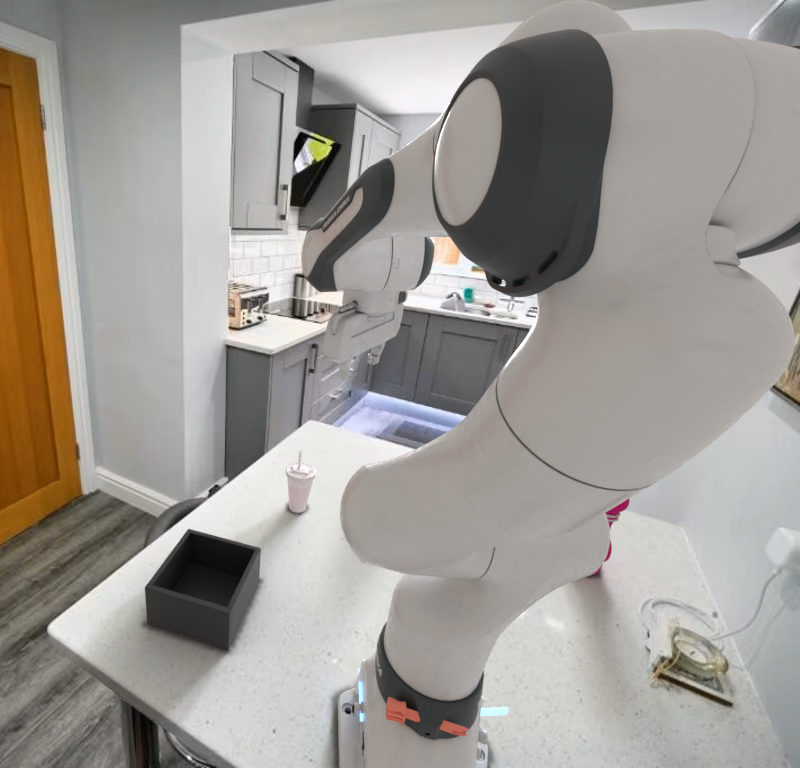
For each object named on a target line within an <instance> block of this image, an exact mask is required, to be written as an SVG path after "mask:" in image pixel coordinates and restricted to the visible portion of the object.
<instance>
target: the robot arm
mask: <svg viewBox="0 0 800 768" xmlns="http://www.w3.org/2000/svg"><path fill="white" fill-rule="evenodd" d="M433 238H450V240H451V241H452V242H453V244H454V245H455V246H456V248H457V250H458V251H459V252H460V253H461V255H463V257H465V258H466V259H467V260H468V261H470V262H471V263H472V264H475V266H478V267H479V268H481V269H482V270H483V271H484V275H485V278H486V282H487V284H488V285H489V287H491V288H492V289H493V290H495V291H497V292H498V293H501V294H502V295H505V296H508V297H511V298H528V297H532V296H534V295H536V297H537V309H536V316H535V319H534V322H533V324H532V326H531V327H530V329H529V331H528V332H527V334H526V336H525V337H524V339H523V340H522V342H521V343H520V345H519V346H518V347H517V348H516V350H515V351H514V352H513V353H512V355H511V356H510V357H509V358H508V360H507V361H506V363H505V364H504V366H503V367H502V369H501V370H500V371H499V373H498V374H497V376H496V377H495V379H494V380H493V381H492V382H491V384H490V385H489V386H488V388H487V390H486V391H485V392H484V393H483V395H482V396H481V397H480V399H479V400H478V401H477V402H476V404H475V405H474V406H473V408H472V409H471V410H470V411H469V412H468V413H467V415H466V416H465V417H464V418H463V419H462V420H461V421H460V422H459V423H458V424H456V425H455V426H453V427H452V428H451V429H450V430H448V431H446V432H444V433H443V434H441V435H439V436H438V437H436V438H434V439H432V440H430V441H429V442H427V443H425V444H423V445H421V446H419V447H417V448H415V449H413V450H411V451H409V452H406V453H404V454H400V455H398V456H396V457H392V458H390V459H385V460H382V461H378V462H373V463H368V464H364V465H362V466H360V468H358V469H357V470H356V471H355V472H354V474H353V475H352V476H351V477H350V479H349V480H348V482H347V484H346V486H345V487H344V489H343V492H342V496H341V499H340V508H339V518H340V519H339V520H340V526H341V530H342V533H343V536H344V539H345V540H346V543H347V545H348V547H349V548H350V550H351V551H352V553H353V554H354V555H355V557H356V558H357V559H358V560H359V561H360V562H362V563H364V564H368V565H371V566H374V567H377V568H381V569H384V570H388V571H392V572H396V573H400V574H403V575H402V577H400V579H399V580H398V582H397V583H396V585H395V587H394V589H393V593H392V597H391V602H390V606H389V611H388V615H387V619H386V622H385V623H384V624H383V627H382V628H381V630H380V633H379V636H378V638H377V642H376V650H375V652H373V653H372V654H370V655H368V656H367V657H365V659H362V660H361V664H360V667H358V670H357V674H358V676H357V680H356V683H355V687H353V688H351V689H348V690H345V691H344V692H342V693H341V694H340V695H339V698H338V700H337V735H338V737H337V738H338V768H488V764H489V763H488V762H489V746H488V743H487V742H488V735H489V733H488V731H487V730H486V729H483V728H481V726H480V724H481V717H487V716H488V717H489V716H506V715H508V712H509V707H508V706H499V707H498V706H497V707H495V706H494V707H483V705H484V703H485V697H483V690H484V680H485V668H486V666H487V662H488V660H489V658H490V656H491V654H492V651H493V649H494V647H495V645H496V643H497V641H498V639H499V638H500V637H501V635H502V634H503V632H504V631H505V630H507V628H508V627H509V626H510V625H512V623H513V622H515V620H516V619H518V618H519V617H520V616H521V615H522V614H523V613H525V612H526V611H527V610H528V609H529V608H531V607H532V606H533V605H534V604H536V603H537V602H539V601H541V599H543V598H544V597H546V596H547V595H549V594H551V593H553V592H554V591H556V590H557V589H559V588H561V587H563V586H566V585H567V584H570V583H573V582H576V581H578V580H581V579H584V578H587V577H590V576H593V575H592V574H594V573H595V572H596V571H597V570H598V569H599V568H600V567H601V566H602V567H603V564H604V563H605V562H604V560H605V559H606V556H607V553H608V549H609V545H610V539H611V528H609V523H608V519H607V516H606V512H607V511H609V510H611V509H612V508H614V507H616V506H618V505H619V504H621V503H622V502H624V501H626V500H627V499H629V500H630V499H631V498H632V497H634V496H636V495H638V494H639V493H641V492H642V491H644V490H646V489H647V488H649V487H651V486H653V485H655V484H656V483H658V482H659V481H661V480H663V479H664V478H666V477H667V476H669V475H670V474H672V473H674V472H675V471H676V470H678V469H680V468H681V467H682V466H684V465H685V464H687V463H688V462H689V461H690V460H692V459H694V458H695V457H696V456H698V455H699V454H700V453H701V452H703V451H704V450H705V449H707V448H708V447H709V446H711V444H712V443H714V442H715V441H716V440H717V439H719V438H720V437H721V436H722V435H723V434H725V433H726V432H727V431H728V430H730V428H731V427H733V426H734V425H735V424H736V423H737V422H738V421H739V420H740V419H741V418H742V417H743V416H745V414H747V413H748V412H749V411H750V410H751V409H752V408H753V407H754V406H755V405H756V404H757V403H758V402H759V401H760V400H761V399H763V397H764V396H765V395H766V394H767V392H769V391H770V389H772V387H773V386H775V384H776V383H777V382H779V380H780V378H781V377H782V376H783V374H784V373H785V371H786V370H787V369H788V367H789V365H790V362H791V360H792V357H793V354H794V351H795V343H796V335H795V329H794V324H793V320H792V318H791V317H790V314H789V312H788V310H787V308H786V307H785V305H784V303H783V302H782V301H781V300H780V298H778V296H777V295H776V294H775V293H774V292H773V291H772V290H771V288H770V287H769V286H767V285H766V284H765V283H764V282H763V281H761V280H760V279H759V278H757V277H756V276H755V275H753V274H752V273H750V272H748V271H746V270H745V269H743V268H741V267H739V266H740V265H741V261H740V260H742V259H748V258H752V257H757V256H760V255H761V256H762V255H764V254H765V255H766V254H768V253H773V252H777V251H778V250H779V251H780V250H782V249H785V248H788V247H792V246H795V245H797V244H799V243H800V45H793V46H792V45H791V46H788V45H784V44H780V43H775V42H771V41H765V40H757V39H749V38H742V37H734V36H729V35H726V34H724V33H722V32H720V31H718V30H717V31H716V30H710V29H703V28H702V29H701V28H699V29H698V28H694V29H693V28H665V29H664V28H663V29H641V30H640V29H637V30H633V29H632V27H631V26H630V25H629V23H628V22H627V21H626V19H625V18H624V17H622V16H621V15H620V14H619V13H618V12H617V11H615V10H613V9H612V8H610V7H608V6H606V5H605V4H602V3H599V2H597V1H592V0H564V1H560V2H556V3H553V4H550V5H548V6H545V7H544V8H542V9H540V10H537V12H535V13H533V14H531V15H530V16H529V17H527V18H526V19H525V20H524V21H522V23H520V24H519V25H518V26H517V27H516V28H515V29H514V30H512V31H511V33H510V34H509V35H507V36H506V38H504V39H503V40H502V41H501V42H500V43H499V44H498V45H497V46H496V47H495V48H494V49H492V50H491V51H489V52H488V53H486V54H485V55H484V56H483V57H481V59H479V61H477V62H476V64H475V65H474V66H473V68H472V69H471V70H470V71H469V73H468V74H467V75H466V76H465V78H464V80H462V82H461V84H459V86H458V87H457V89H456V91H455V92H454V94H453V95H452V98H451V100H450V102H449V103H448V104H447V106H446V107H445V108H444V110H443V111H442V113H441V114H440V116H438V118H437V119H436V120H435V121H434V122H433V123H432V124H431V125H430V126H429V127H428V128H426V129H425V131H422V133H421V134H419V135H418V136H417V137H415V138H414V139H413V140H411V141H410V142H409V143H407V144H406V145H405V146H403V147H402V148H400V149H399V150H397V151H396V152H393V153H392V154H390V155H389V156H387V157H384V158H382V159H380V160H378V161H377V162H375V163H373V164H371V165H370V166H368V167H367V168H366V169H365V170H363V172H362V173H361V174H360V175H359V176H358V177H357V178H356V179H355V180H354V181H353V183H352V184H351V185H350V186H349V187H348V188H347V190H345V192H344V193H343V194H342V196H341V197H340V198H339V199H338V200H337V202H336V203H335V204H334V205H333V207H332V208H331V209H330V210H329V211H328V213H327V214H326V215H325V216H324V217H320V218H319V219H318V220H316V221H315V222H314V223H313V224H312V225H311V226H310V227H309V228H308V230H307V231H306V233H305V236H304V239H303V242H302V246H301V252H300V264H301V270H302V275H303V277H304V279H305V280H306V281H307V282H308V283H309V284H310V285H311V286H312V287H313V288H314V289H315V290H316V291H317V292H319V293H336V292H339V291H340V292H342V300H341V305H338V306H337V307H336V310H335V311H334V312H333V314H331V316H330V317H329V319H328V321H327V324H326V329H325V334H324V340H323V346H322V355H323V357H324V358H325V359H326V360H327V361H331V362H333V363H336V365H337V367H338V369H339V373H338V378H339V379H341V380H343V381H348V380H350V379H352V377H353V368H351V367H350V363H351V362H352V359H353V358H355V357H357V356H359V355H362V354H363V353H364V352H367V351H370V353H368V354H367V360H366V362H367V364H369V365H372V366H375V365H376V364H379V363H380V358H381V355H382V353H383V350H384V349H385V346H386V342H388V341H389V340H391V339H394V338H395V337H396V336H397V335H398V333H399V331H400V328H401V324H402V319H403V314H404V308H405V307H404V305H405V304H404V303H406V302H407V300H408V297H409V291H414V290H416V289H417V288H418V287H420V286H421V285H422V284H423V283H424V282H425V281H426V279H427V278H428V277H429V276H430V274H431V271H432V269H433V268H432V267H433V264H434V263H433V262H434V256H435V241H434V240H433ZM503 281H504V283H505V285H503V284H502V282H503ZM351 364H352V363H351ZM602 567H601V568H602ZM346 712H349V714H348V713H346Z"/></svg>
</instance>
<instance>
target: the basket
mask: <svg viewBox="0 0 800 768" xmlns="http://www.w3.org/2000/svg"><path fill="white" fill-rule="evenodd" d="M261 553H262V548H261V547H259V546H255V545H252V544H248V543H244V542H241V541H238V540H237V541H236V540H232V539H229V538H225V537H221V536H218V535H214V534H210V533H207V532H203V531H198V530H195V529H191V528H188V529H186V531H185V532H184V534H183V536H182V537H180V539H179V541H178V542H177V543H176V545H175V546H174V548H173V549H172V550H171V551H170V553H169V554H168V556H167V557H166V558H165V560H163V562H162V563H161V565H160V566H159V567H158V569H157V570H156V572H155V573H154V574H153V576H152V577H151V578H150V580H149V581H148V582H147V584H146V585H145V586H144V596H145V597H144V598H145V610H146V611H145V612H146V625H150V626H152V627H155V628H159V629H162V630H165V631H168V632H171V633H173V634H177V635H180V636H183V637H185V638H189V639H192V640H195V641H198V642H201V643H204V644H207V645H211V646H213V647H217V648H220V649H223V650H226V651H230V649H231V647H232V644H233V642H234V640H235V638H236V635H237V633H238V630H239V628H240V625H241V624H242V622H243V620H244V617H245V615H246V613H247V610H248V608H249V605H250V603H251V601H252V598H253V596H254V594H255V592H256V589H257V587H258V585H259V583H260V571H261Z"/></svg>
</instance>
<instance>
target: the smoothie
mask: <svg viewBox="0 0 800 768" xmlns="http://www.w3.org/2000/svg"><path fill="white" fill-rule="evenodd" d="M302 456H303V451H302V450H299V452H298V461H297V462H292V463H290V464H288V465H287V466H286V470H285V475H286V477H287V493H288V495H287V496H288V508H289V510H290V511H291V512H293V513H296V514H299V513H303V512H305V511H306V509H307V506H308V502H309V497H310V493H311V490H312V485H313V482H314V480H315V479H316V476H317V475H316V473H317V471H316V469H315V468H314V466H312V465H311V464H309V463H306V462H302Z"/></svg>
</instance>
